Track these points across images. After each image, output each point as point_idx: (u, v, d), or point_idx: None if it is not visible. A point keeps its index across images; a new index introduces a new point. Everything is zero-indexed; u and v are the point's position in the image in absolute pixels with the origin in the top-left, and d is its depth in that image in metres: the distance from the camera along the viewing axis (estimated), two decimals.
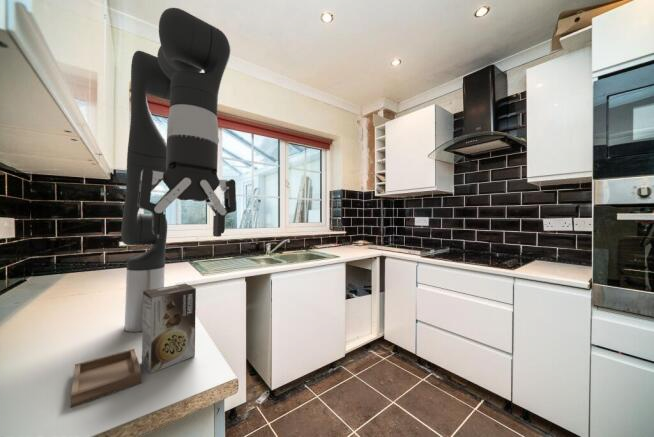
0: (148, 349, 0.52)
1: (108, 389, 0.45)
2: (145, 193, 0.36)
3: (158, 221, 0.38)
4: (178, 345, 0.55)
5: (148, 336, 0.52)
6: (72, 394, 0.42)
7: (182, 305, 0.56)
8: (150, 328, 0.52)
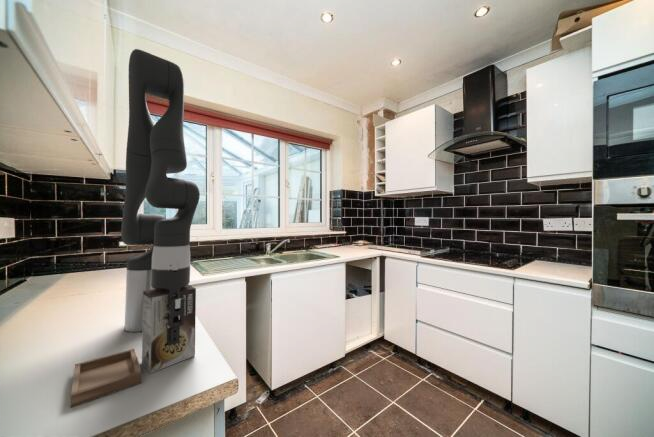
0: (148, 349, 0.52)
1: (108, 389, 0.45)
2: None
3: (177, 331, 0.54)
4: (178, 345, 0.55)
5: (148, 336, 0.52)
6: (72, 394, 0.42)
7: None
8: (150, 328, 0.52)
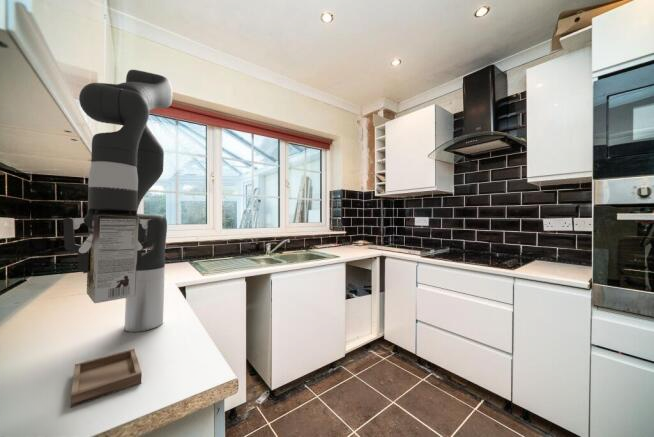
0: (127, 274, 0.48)
1: (108, 389, 0.45)
2: None
3: None
4: None
5: (126, 260, 0.48)
6: (72, 394, 0.42)
7: None
8: (133, 250, 0.49)
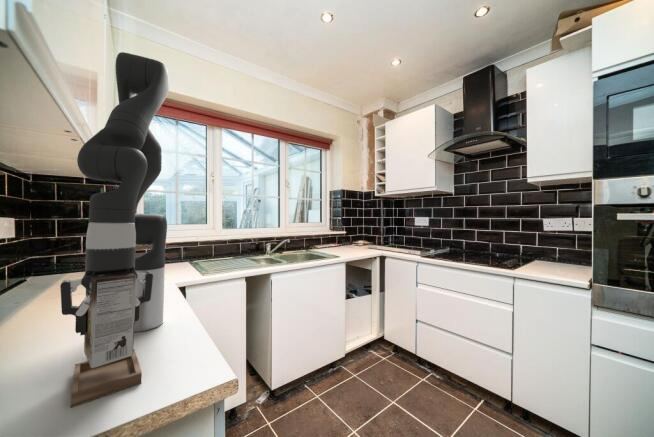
0: (124, 334, 0.48)
1: (108, 389, 0.45)
2: None
3: None
4: None
5: (124, 321, 0.48)
6: (72, 394, 0.42)
7: None
8: (131, 309, 0.49)
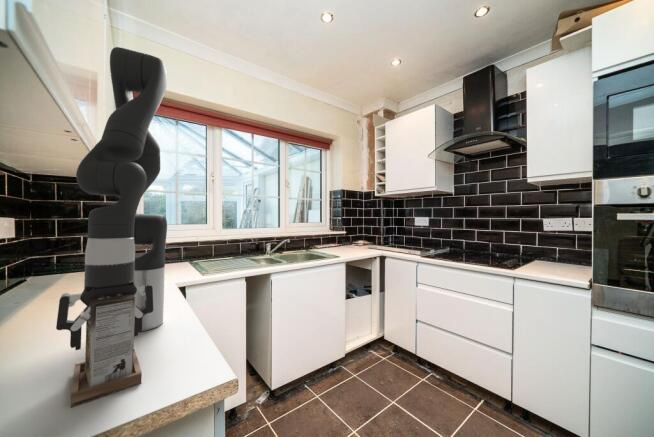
0: (124, 357, 0.48)
1: (108, 389, 0.45)
2: None
3: None
4: None
5: (123, 344, 0.48)
6: (72, 394, 0.42)
7: None
8: (130, 331, 0.49)
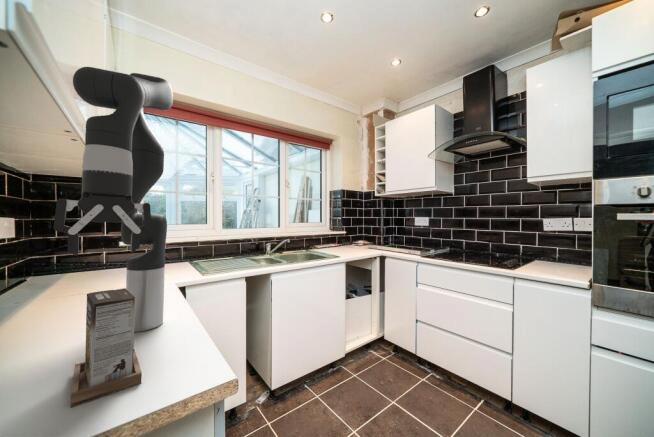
0: (124, 357, 0.48)
1: (108, 389, 0.45)
2: None
3: None
4: None
5: (123, 344, 0.48)
6: (72, 394, 0.42)
7: None
8: (130, 331, 0.49)
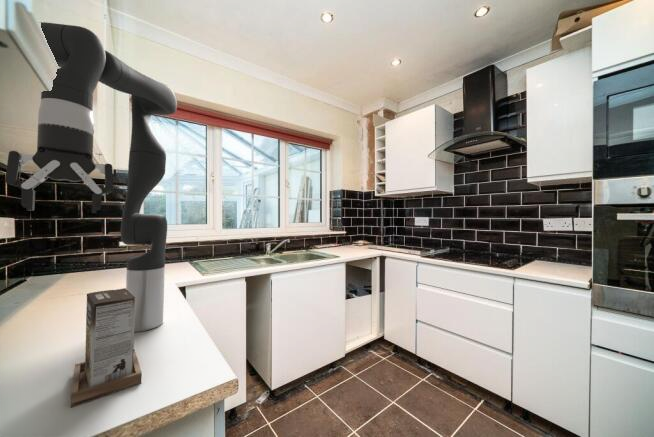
0: (124, 357, 0.48)
1: (108, 389, 0.45)
2: None
3: None
4: None
5: (123, 343, 0.48)
6: (72, 394, 0.42)
7: None
8: (130, 331, 0.49)
